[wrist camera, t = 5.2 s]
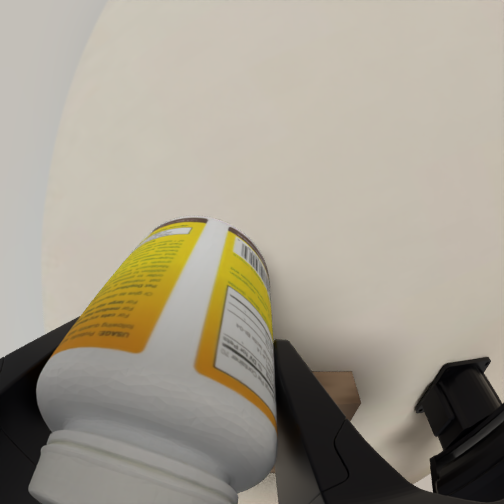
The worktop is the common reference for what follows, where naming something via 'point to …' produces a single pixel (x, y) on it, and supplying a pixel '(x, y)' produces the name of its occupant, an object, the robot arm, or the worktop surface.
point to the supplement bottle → (165, 377)
